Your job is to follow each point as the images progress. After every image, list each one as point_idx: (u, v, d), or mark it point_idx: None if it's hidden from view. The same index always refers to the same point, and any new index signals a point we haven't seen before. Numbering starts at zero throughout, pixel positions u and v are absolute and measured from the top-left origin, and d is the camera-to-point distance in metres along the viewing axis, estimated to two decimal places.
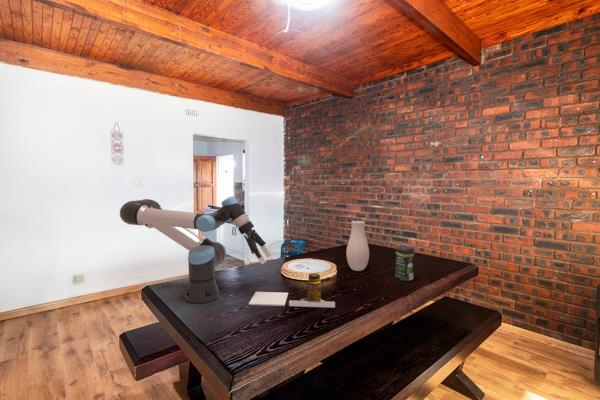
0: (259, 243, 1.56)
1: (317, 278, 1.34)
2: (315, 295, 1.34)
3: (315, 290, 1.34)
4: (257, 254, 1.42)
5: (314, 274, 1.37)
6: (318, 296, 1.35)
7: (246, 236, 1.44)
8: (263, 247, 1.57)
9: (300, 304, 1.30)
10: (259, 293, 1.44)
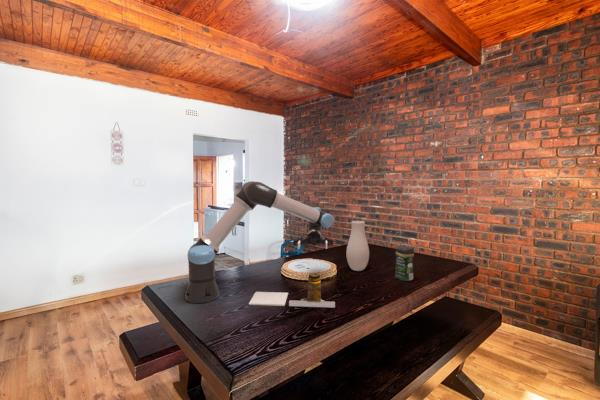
0: (302, 241, 1.54)
1: (317, 278, 1.34)
2: (315, 295, 1.34)
3: (315, 290, 1.34)
4: (329, 243, 1.49)
5: (314, 274, 1.37)
6: (318, 296, 1.35)
7: None
8: None
9: (300, 304, 1.30)
10: (259, 293, 1.44)
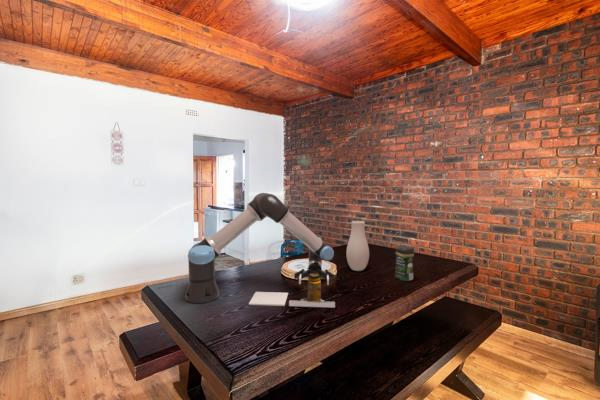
0: (303, 275, 1.52)
1: (317, 278, 1.34)
2: (315, 295, 1.34)
3: (315, 290, 1.34)
4: (330, 278, 1.48)
5: (314, 274, 1.37)
6: (318, 296, 1.35)
7: None
8: None
9: (300, 304, 1.30)
10: (259, 293, 1.44)
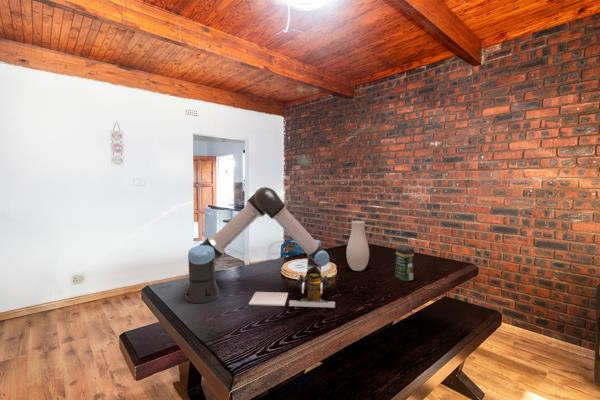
0: (305, 282, 1.41)
1: (317, 278, 1.34)
2: (315, 295, 1.34)
3: (315, 290, 1.34)
4: (324, 286, 1.36)
5: (314, 274, 1.37)
6: (318, 296, 1.35)
7: (326, 278, 1.47)
8: (304, 285, 1.38)
9: (300, 304, 1.30)
10: (259, 293, 1.44)
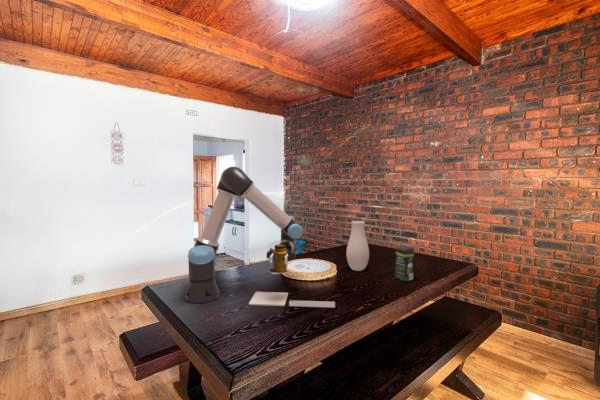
0: None
1: (282, 248, 1.35)
2: (280, 265, 1.35)
3: (280, 260, 1.35)
4: (290, 257, 1.37)
5: (280, 245, 1.38)
6: (283, 266, 1.35)
7: (296, 251, 1.47)
8: (273, 256, 1.38)
9: (300, 304, 1.30)
10: (259, 293, 1.44)
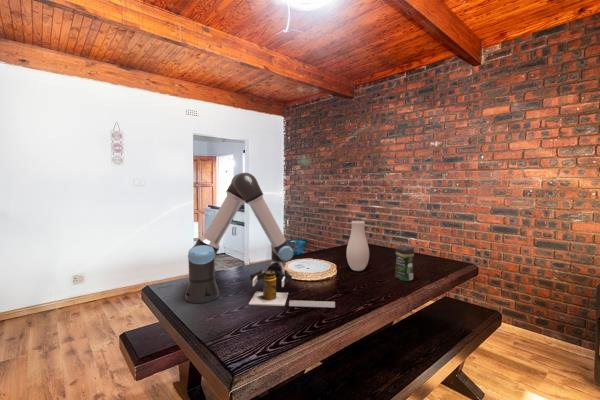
0: (259, 276, 1.44)
1: (271, 276, 1.36)
2: (269, 292, 1.36)
3: (270, 287, 1.36)
4: (287, 280, 1.39)
5: (270, 272, 1.39)
6: (273, 293, 1.36)
7: None
8: (256, 279, 1.41)
9: (300, 304, 1.30)
10: (259, 293, 1.44)
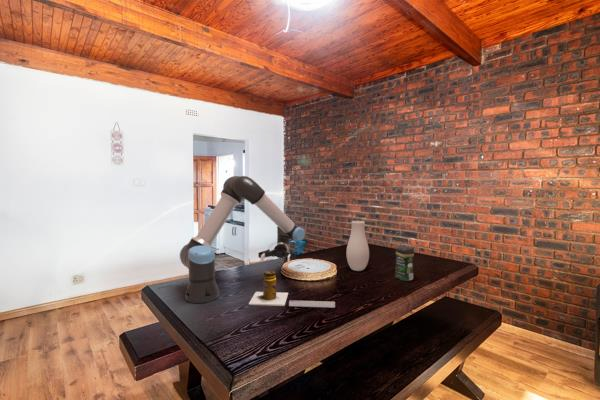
0: (266, 254, 1.59)
1: (271, 276, 1.36)
2: (269, 292, 1.36)
3: (270, 287, 1.36)
4: (292, 257, 1.54)
5: (270, 272, 1.39)
6: (273, 293, 1.36)
7: None
8: (264, 256, 1.56)
9: (300, 304, 1.30)
10: (259, 293, 1.44)
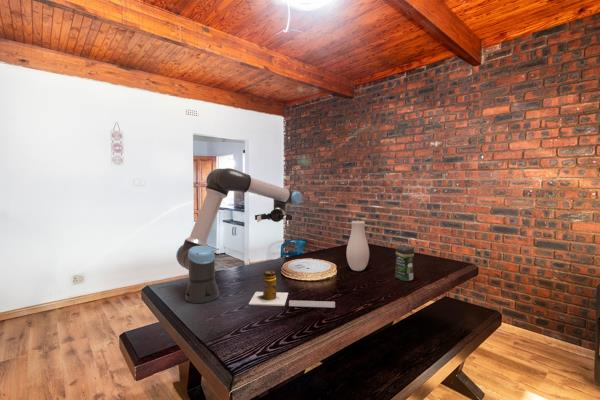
0: (263, 216, 1.62)
1: (271, 276, 1.36)
2: (269, 292, 1.36)
3: (270, 287, 1.36)
4: (288, 218, 1.58)
5: (270, 272, 1.39)
6: (273, 293, 1.36)
7: None
8: (260, 218, 1.59)
9: (300, 304, 1.30)
10: (259, 293, 1.44)
